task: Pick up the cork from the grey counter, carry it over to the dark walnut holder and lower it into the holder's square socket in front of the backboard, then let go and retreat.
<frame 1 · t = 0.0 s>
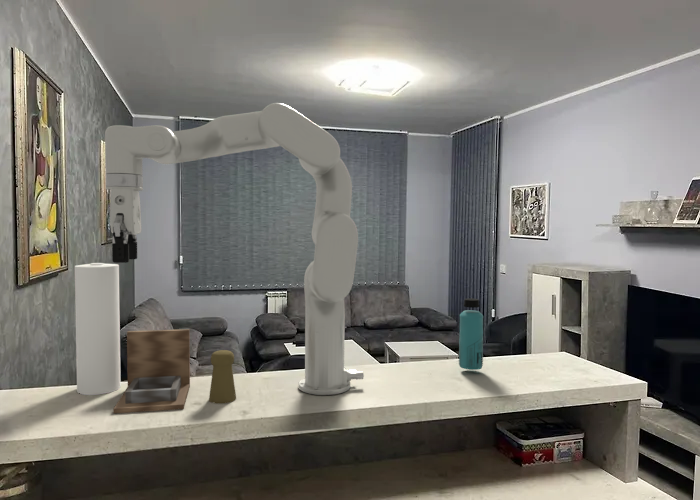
hand: (125, 260, 117), 31 cm above the worktop, tool pointing down, fingers open, 9 cm apart
beverage bottle: (470, 372, 143), on the worktop
cylinder container: (99, 389, 126), on the worktop
holder: (154, 398, 119), on the worktop
cork: (222, 399, 120), on the worktop
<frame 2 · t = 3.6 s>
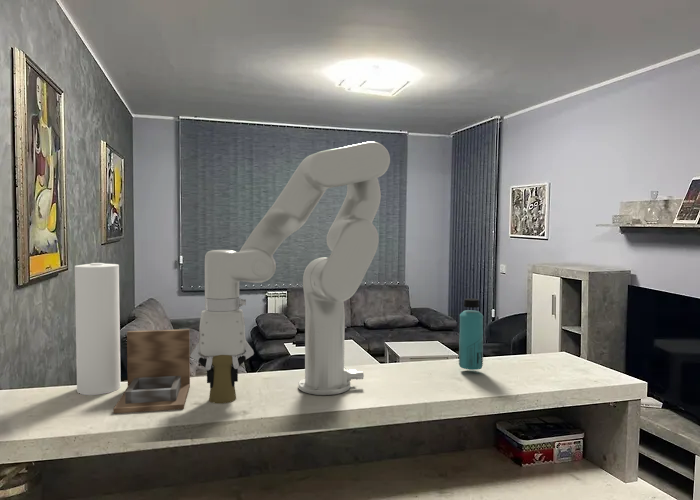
hand: (222, 384, 119), 3 cm above the worktop, tool pointing down, fingers closed on cork, 4 cm apart
cork: (222, 399, 120), on the worktop, touching gripper
everything else where it was.
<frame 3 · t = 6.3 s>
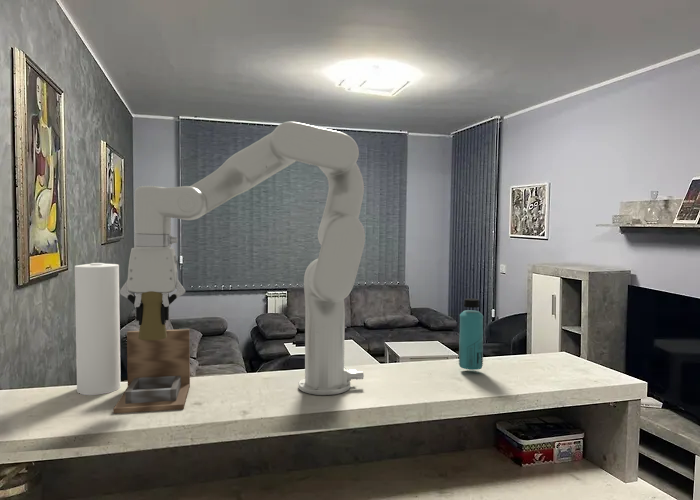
hand: (152, 322, 118), 17 cm above the worktop, tool pointing down, fingers closed on cork, 4 cm apart
cork: (152, 338, 118), point 14 cm above the worktop, touching gripper
everything else where it was.
when the fingers open (5 cm above the worktop, at t = 8.7 s): cork stays where it is, resting on holder.
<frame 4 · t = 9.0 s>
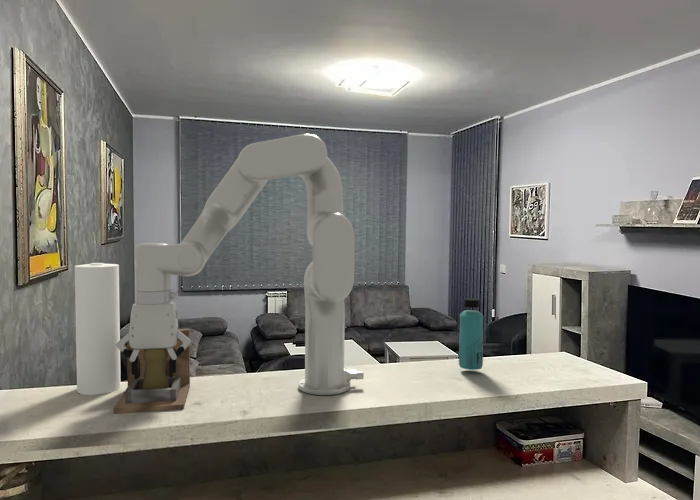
hand: (154, 376, 119), 5 cm above the worktop, tool pointing down, fingers open, 6 cm apart
cork: (156, 395, 119), point 1 cm above the worktop, touching holder
everything else where it was.
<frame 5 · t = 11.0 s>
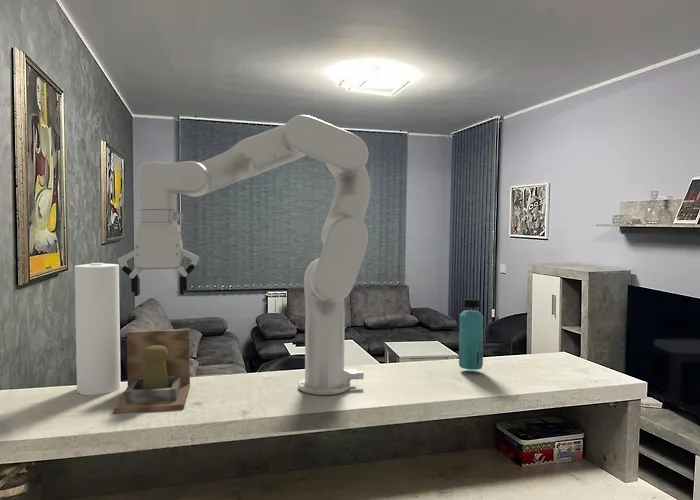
hand: (160, 294, 119), 24 cm above the worktop, tool pointing down, fingers open, 9 cm apart
nothing on the worktop moved.
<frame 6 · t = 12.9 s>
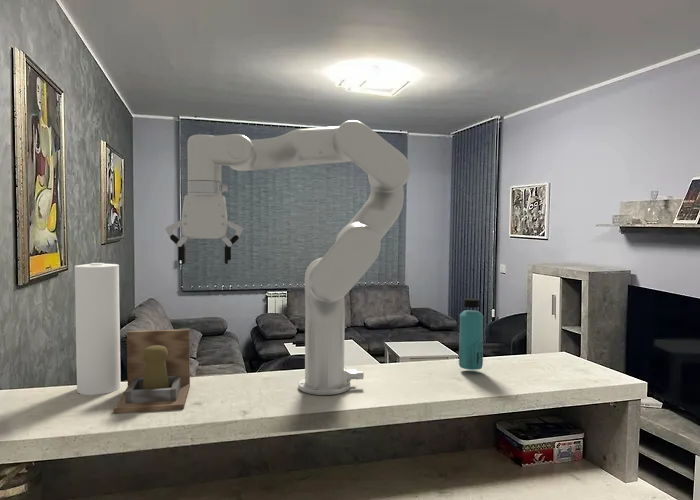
hand: (205, 263, 123), 30 cm above the worktop, tool pointing down, fingers open, 9 cm apart
nothing on the worktop moved.
at the end: cork 0.3 cm off-centre on the holder, point 0.8 cm above the holder's base; cork tilted 0°; the gripper is holding nothing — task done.
